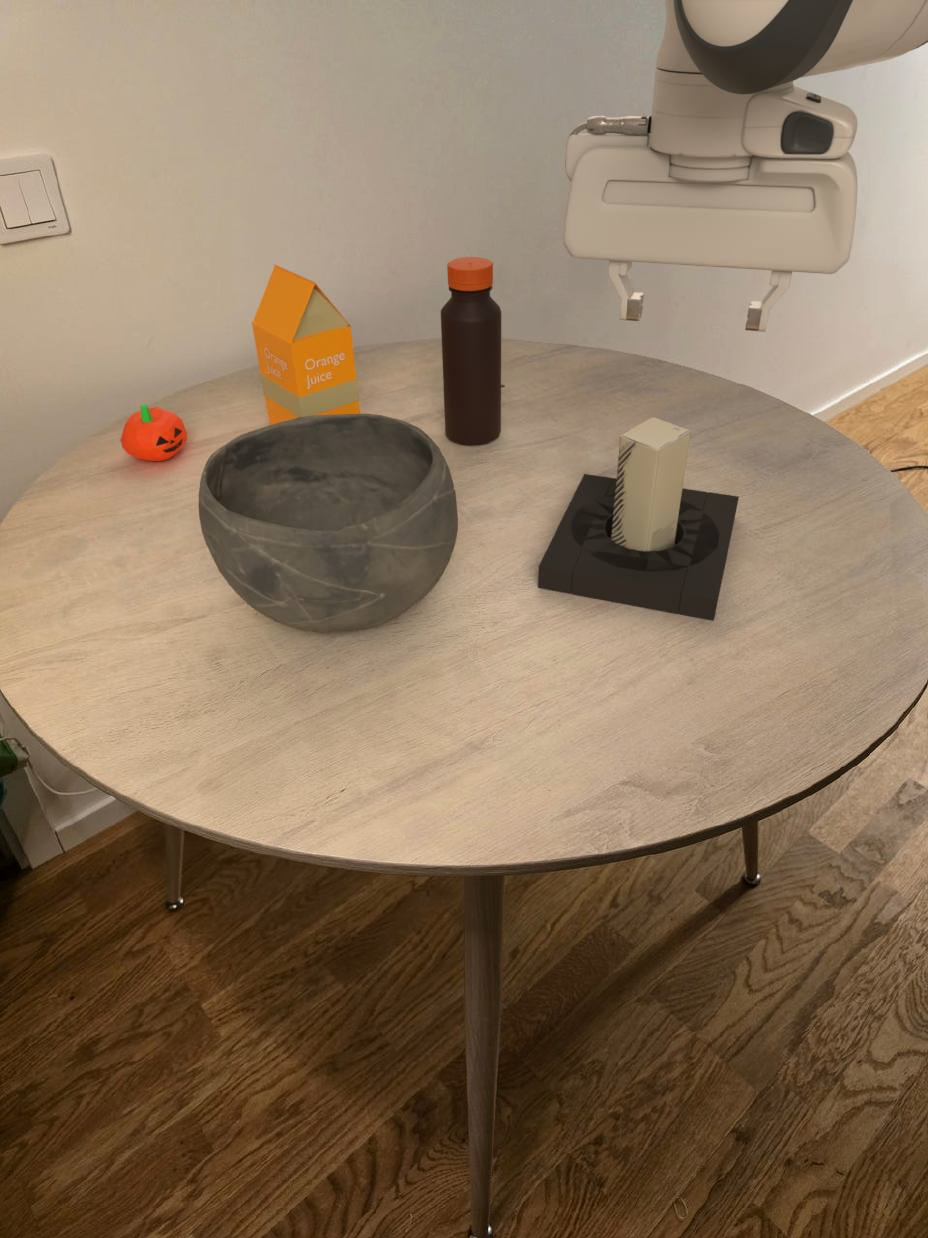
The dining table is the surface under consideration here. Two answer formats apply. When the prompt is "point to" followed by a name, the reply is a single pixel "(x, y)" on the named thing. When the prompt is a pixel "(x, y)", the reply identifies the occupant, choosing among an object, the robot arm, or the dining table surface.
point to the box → (649, 485)
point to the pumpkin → (153, 434)
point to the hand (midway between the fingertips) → (692, 323)
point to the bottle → (471, 354)
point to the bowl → (330, 519)
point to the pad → (641, 553)
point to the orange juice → (303, 351)
